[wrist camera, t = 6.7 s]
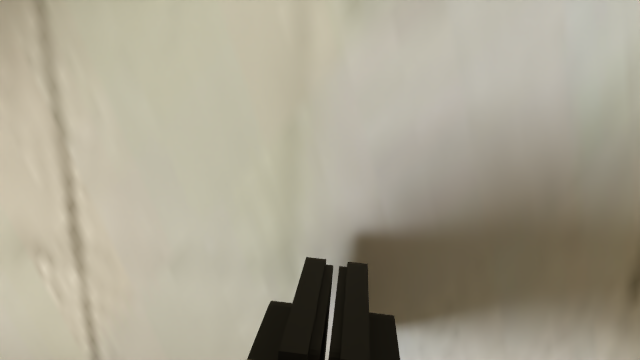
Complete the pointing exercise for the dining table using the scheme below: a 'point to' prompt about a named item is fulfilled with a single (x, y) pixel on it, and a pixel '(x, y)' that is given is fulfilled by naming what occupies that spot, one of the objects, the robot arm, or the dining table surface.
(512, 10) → the dining table surface
